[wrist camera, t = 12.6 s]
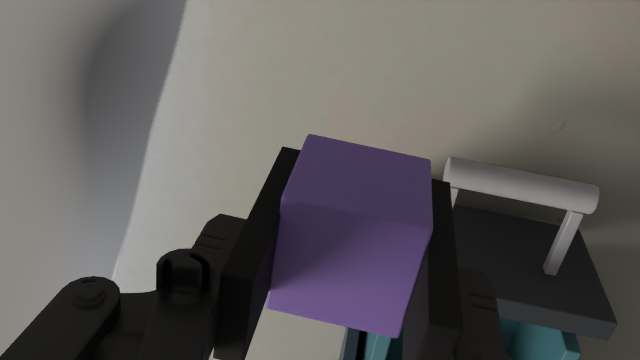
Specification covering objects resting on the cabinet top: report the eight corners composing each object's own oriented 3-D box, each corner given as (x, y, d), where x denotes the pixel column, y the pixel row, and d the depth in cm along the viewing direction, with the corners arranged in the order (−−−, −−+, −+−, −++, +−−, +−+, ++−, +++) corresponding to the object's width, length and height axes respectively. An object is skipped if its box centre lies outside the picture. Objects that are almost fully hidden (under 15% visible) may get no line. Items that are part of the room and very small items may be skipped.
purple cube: (308, 132, 18) (281, 195, 14) (431, 158, 18) (434, 228, 14) (291, 233, 20) (264, 309, 16) (402, 257, 20) (398, 340, 16)
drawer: (406, 109, 31) (401, 179, 24) (616, 150, 30) (670, 233, 23) (351, 346, 41) (336, 442, 34) (508, 381, 40) (525, 486, 33)
